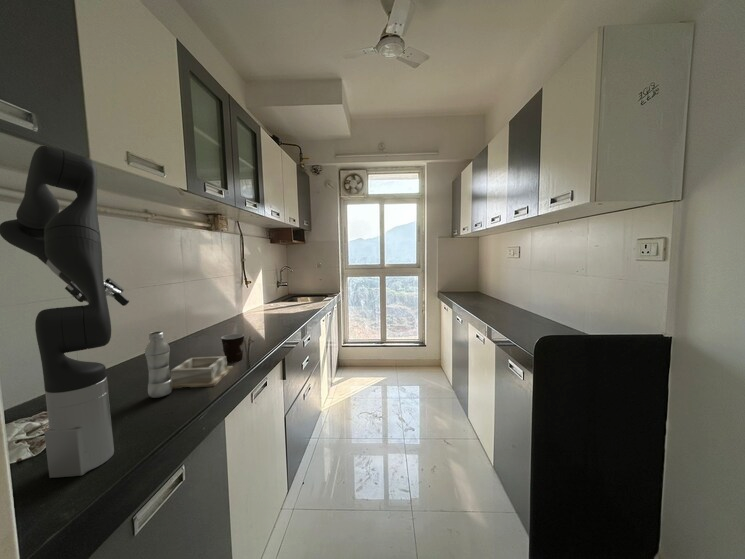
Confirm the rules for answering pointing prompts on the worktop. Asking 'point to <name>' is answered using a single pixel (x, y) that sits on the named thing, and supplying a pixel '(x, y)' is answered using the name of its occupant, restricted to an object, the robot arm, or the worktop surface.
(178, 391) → the worktop surface
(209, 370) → the plate
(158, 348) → the plastic bottle
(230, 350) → the coffee mug
